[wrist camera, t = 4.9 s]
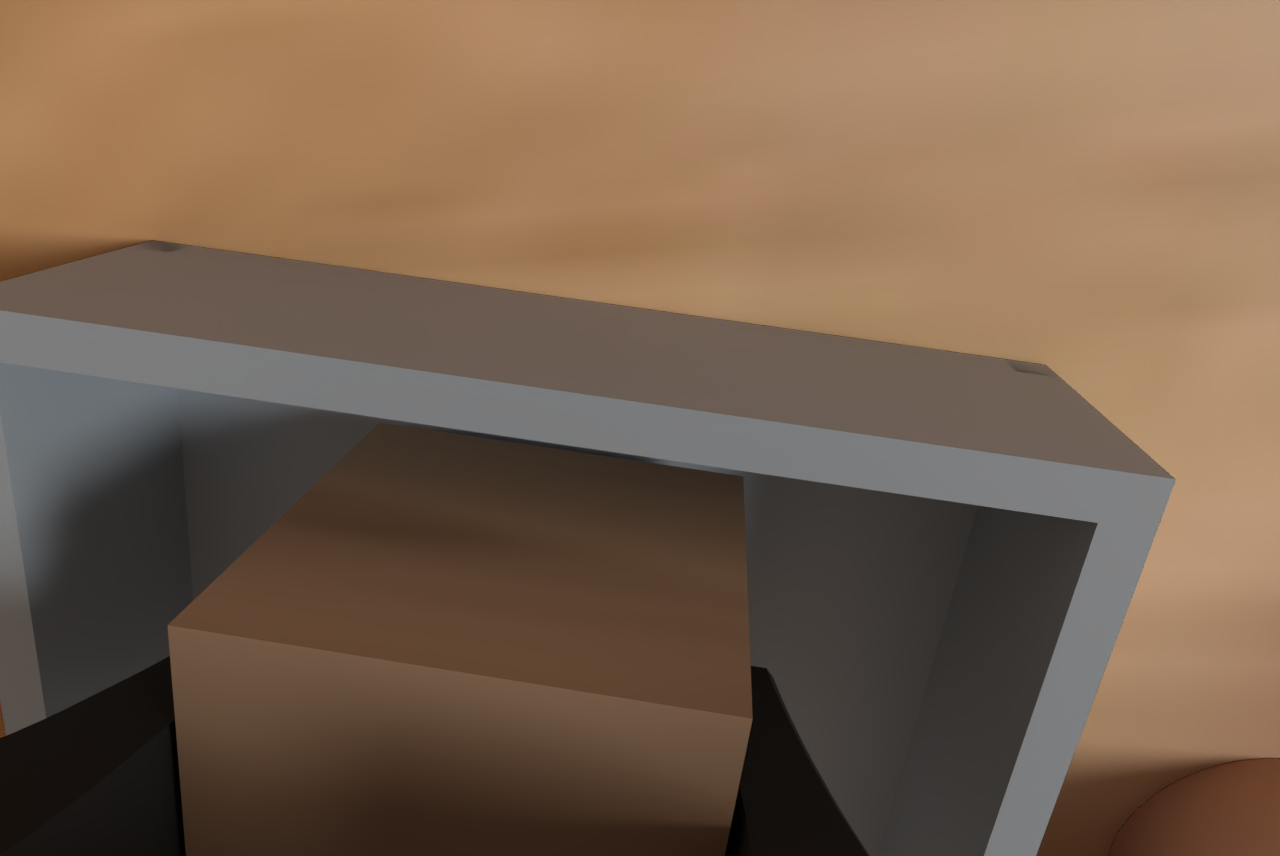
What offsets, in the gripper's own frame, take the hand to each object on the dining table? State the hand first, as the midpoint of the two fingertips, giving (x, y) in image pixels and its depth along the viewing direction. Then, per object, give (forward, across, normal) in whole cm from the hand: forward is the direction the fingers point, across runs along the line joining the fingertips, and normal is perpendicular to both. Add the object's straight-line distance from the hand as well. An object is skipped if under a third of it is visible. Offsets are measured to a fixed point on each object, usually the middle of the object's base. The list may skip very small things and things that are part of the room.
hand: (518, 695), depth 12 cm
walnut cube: (+2, 0, 0) cm, 2 cm away
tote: (+3, 0, +4) cm, 5 cm away
